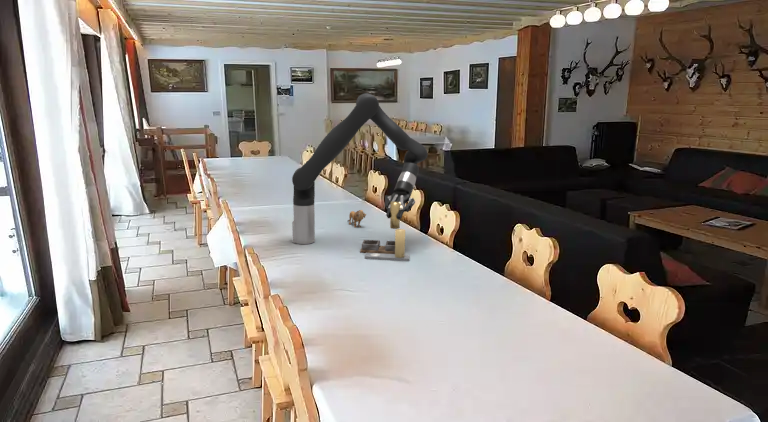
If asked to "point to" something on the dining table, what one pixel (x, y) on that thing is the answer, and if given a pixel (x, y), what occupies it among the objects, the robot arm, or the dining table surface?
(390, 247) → the double bowl tray
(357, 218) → the lion figurine
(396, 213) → the brass pin
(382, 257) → the plate
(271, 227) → the dining table surface
